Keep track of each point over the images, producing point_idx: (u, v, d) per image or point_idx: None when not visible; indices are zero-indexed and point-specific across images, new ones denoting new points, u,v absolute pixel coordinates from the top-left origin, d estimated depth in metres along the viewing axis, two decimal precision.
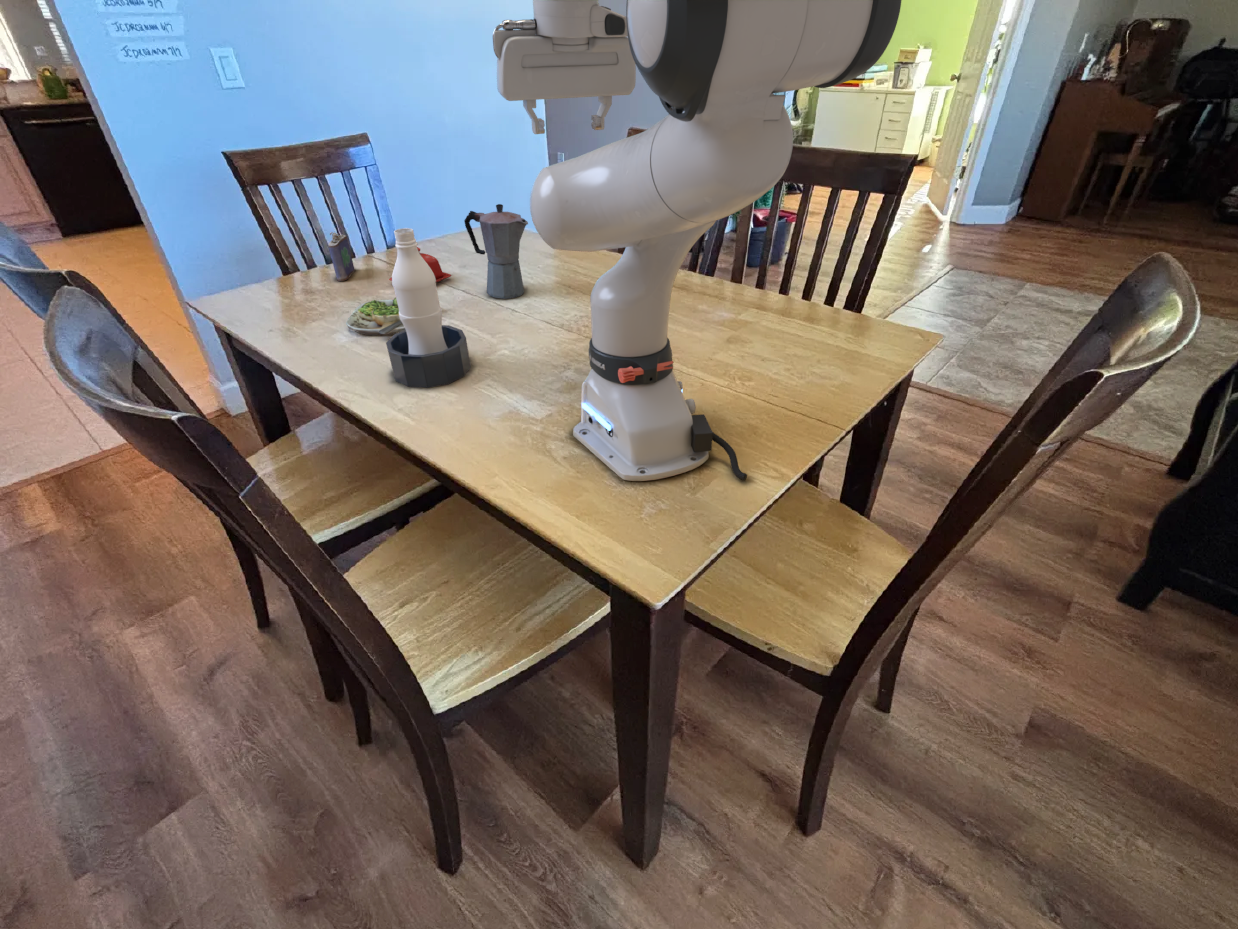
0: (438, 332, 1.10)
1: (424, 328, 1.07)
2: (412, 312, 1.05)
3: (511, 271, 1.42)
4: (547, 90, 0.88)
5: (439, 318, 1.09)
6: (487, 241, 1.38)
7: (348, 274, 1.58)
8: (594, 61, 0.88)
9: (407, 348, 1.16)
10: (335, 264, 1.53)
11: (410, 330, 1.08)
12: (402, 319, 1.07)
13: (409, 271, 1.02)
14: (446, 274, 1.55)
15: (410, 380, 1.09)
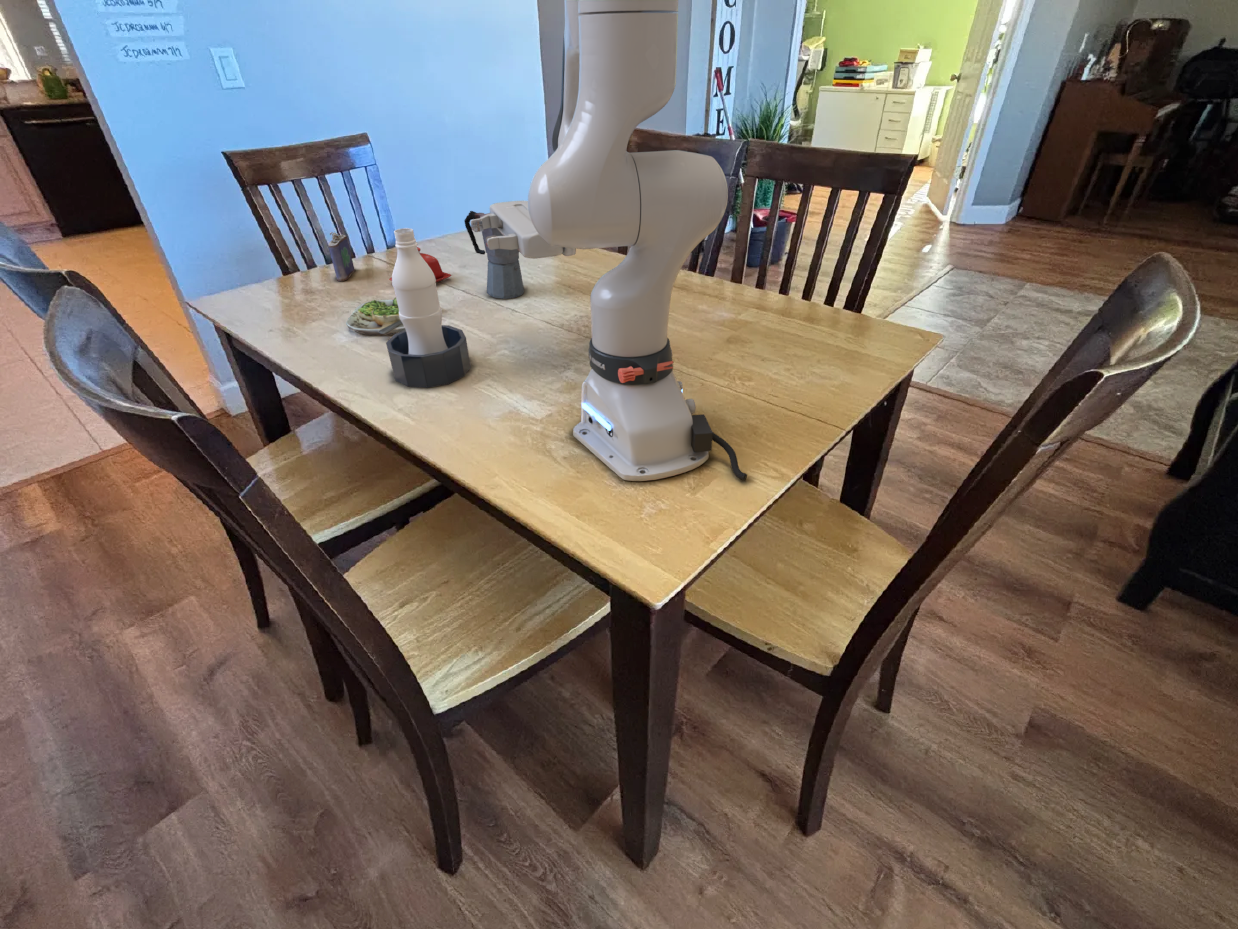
0: (438, 332, 1.10)
1: (424, 328, 1.07)
2: (412, 312, 1.05)
3: (511, 271, 1.42)
4: (504, 212, 1.08)
5: (439, 318, 1.09)
6: None
7: (348, 274, 1.58)
8: None
9: (407, 348, 1.16)
10: (335, 264, 1.53)
11: (410, 330, 1.08)
12: (402, 319, 1.07)
13: (409, 271, 1.02)
14: (446, 274, 1.55)
15: (410, 380, 1.09)
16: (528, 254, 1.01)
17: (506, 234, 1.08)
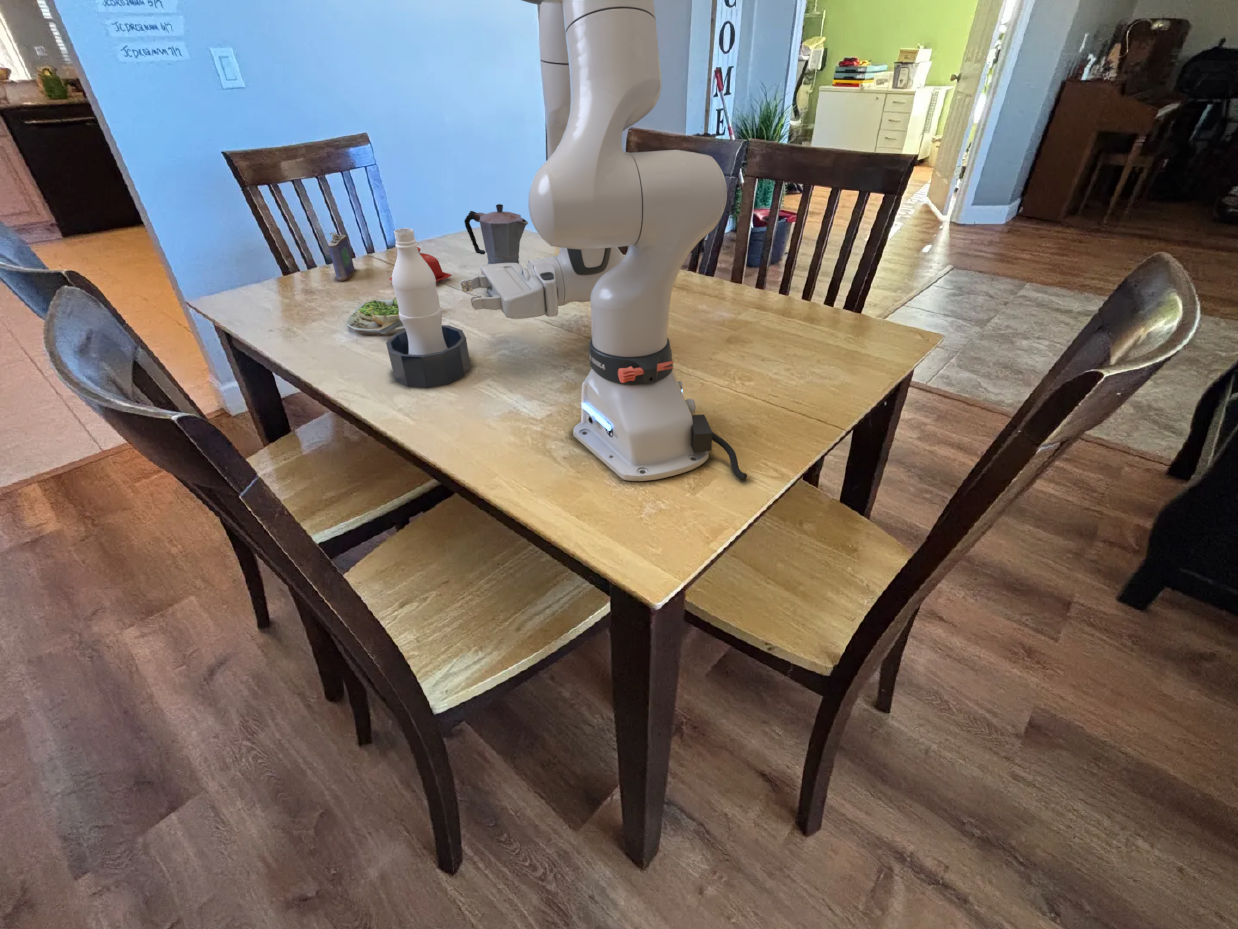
0: (438, 332, 1.10)
1: (424, 328, 1.07)
2: (412, 312, 1.05)
3: None
4: (492, 273, 1.14)
5: (439, 318, 1.09)
6: (487, 241, 1.38)
7: (348, 274, 1.58)
8: (520, 285, 1.10)
9: (407, 348, 1.16)
10: (335, 264, 1.53)
11: (410, 330, 1.08)
12: (402, 319, 1.07)
13: (409, 271, 1.02)
14: (446, 274, 1.55)
15: (410, 380, 1.09)
16: (509, 314, 1.05)
17: (493, 294, 1.13)
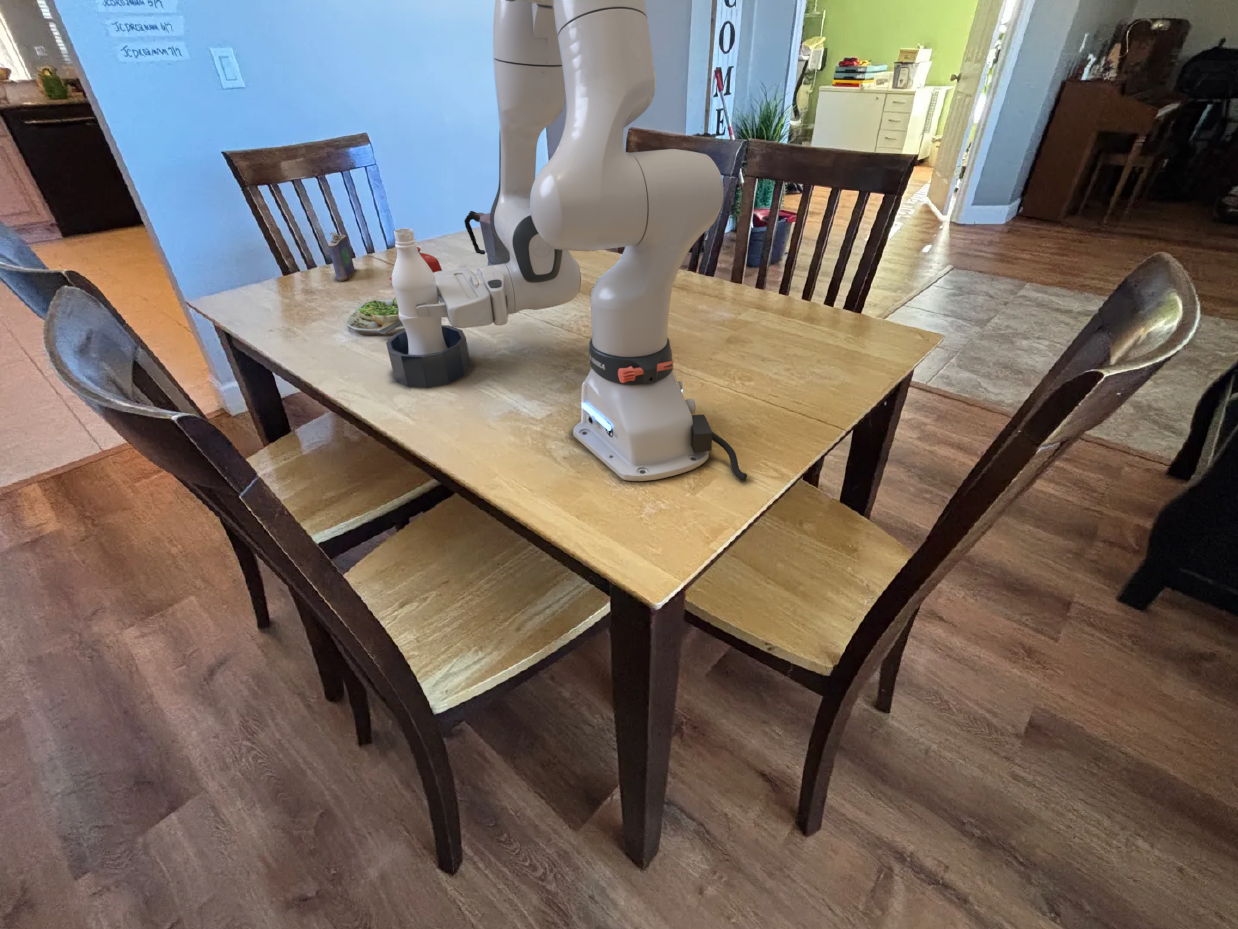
0: (437, 332, 1.10)
1: (423, 328, 1.07)
2: (412, 312, 1.05)
3: None
4: (441, 281, 1.11)
5: (439, 318, 1.09)
6: (487, 241, 1.38)
7: (348, 274, 1.58)
8: (468, 293, 1.07)
9: (407, 348, 1.16)
10: (335, 264, 1.53)
11: (410, 330, 1.08)
12: (402, 319, 1.07)
13: (409, 271, 1.02)
14: None
15: (410, 380, 1.09)
16: (455, 323, 1.02)
17: None
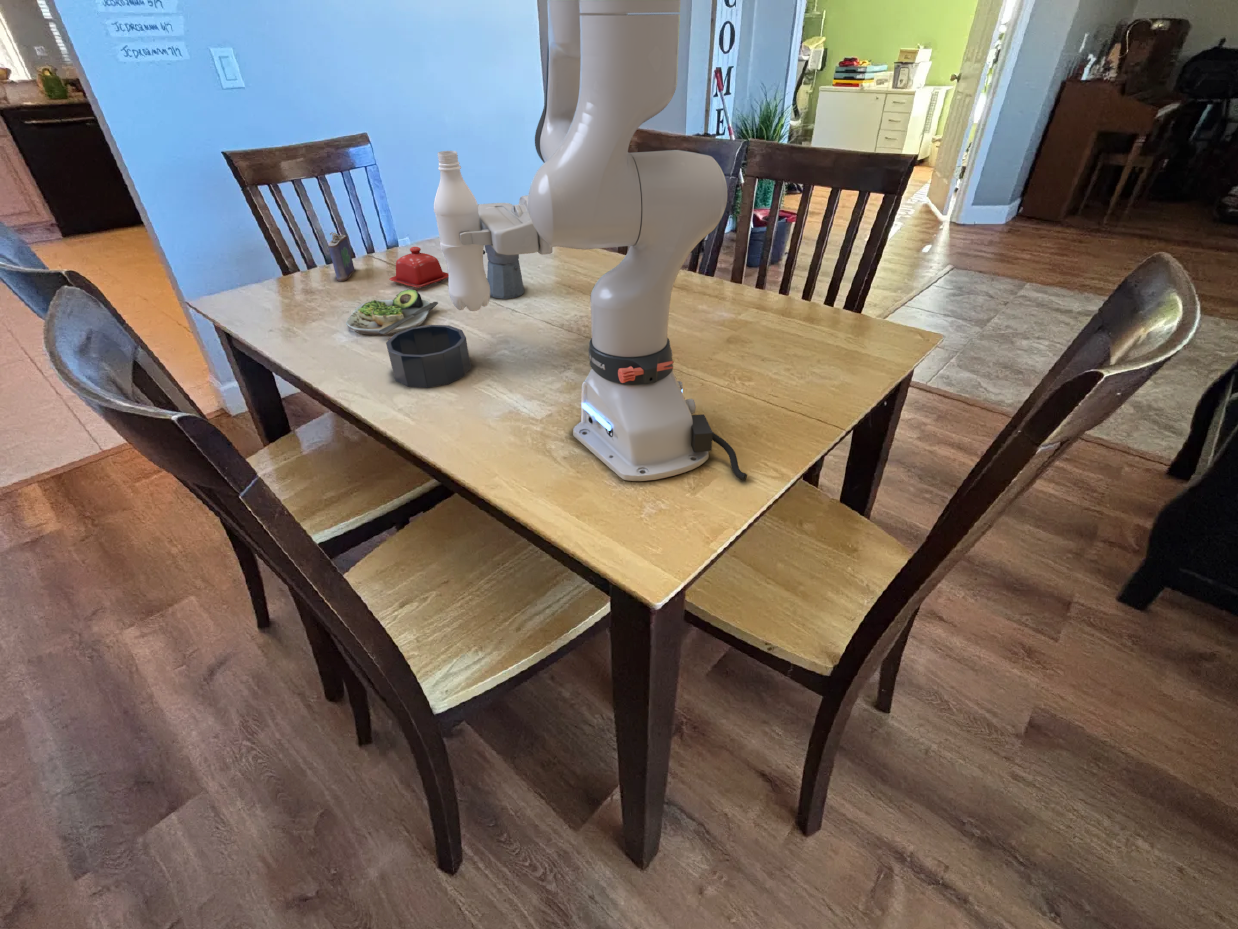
0: (479, 263, 1.06)
1: (466, 258, 1.04)
2: (455, 240, 1.02)
3: (511, 271, 1.42)
4: (482, 211, 1.07)
5: (481, 248, 1.05)
6: None
7: (348, 274, 1.58)
8: (512, 221, 1.03)
9: (407, 348, 1.16)
10: (335, 264, 1.53)
11: (451, 261, 1.05)
12: (444, 248, 1.03)
13: (453, 196, 0.98)
14: (446, 274, 1.55)
15: (410, 380, 1.09)
16: (500, 249, 0.99)
17: None
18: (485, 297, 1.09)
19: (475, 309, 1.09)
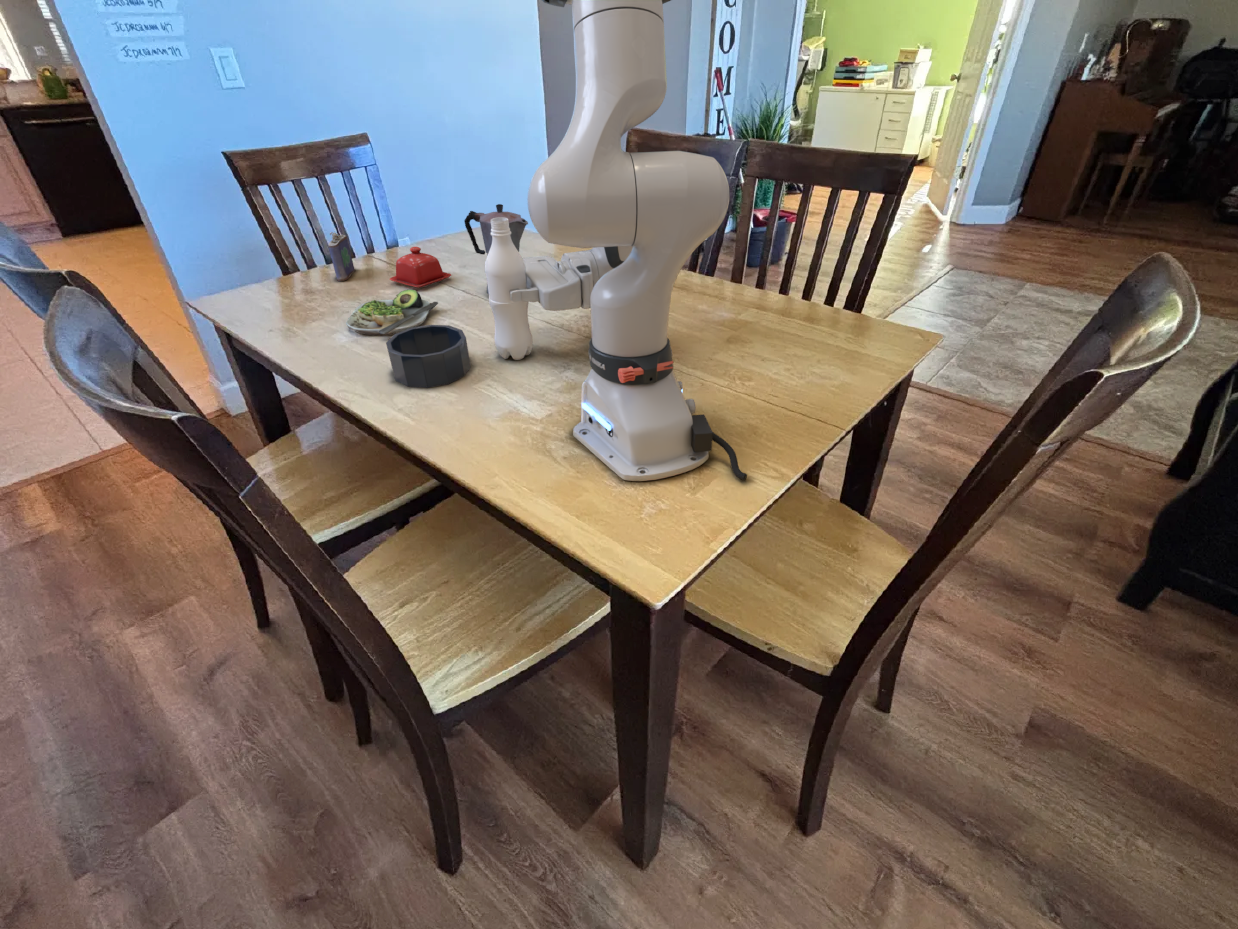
0: (525, 317, 1.15)
1: (513, 313, 1.12)
2: (504, 298, 1.10)
3: None
4: (528, 267, 1.16)
5: (527, 304, 1.14)
6: (487, 241, 1.38)
7: (348, 274, 1.58)
8: (557, 278, 1.11)
9: (407, 348, 1.16)
10: (335, 264, 1.53)
11: (499, 315, 1.13)
12: (493, 305, 1.12)
13: (504, 259, 1.07)
14: (446, 274, 1.55)
15: (410, 380, 1.09)
16: (548, 306, 1.07)
17: (529, 287, 1.15)
18: (528, 347, 1.18)
19: (519, 358, 1.18)
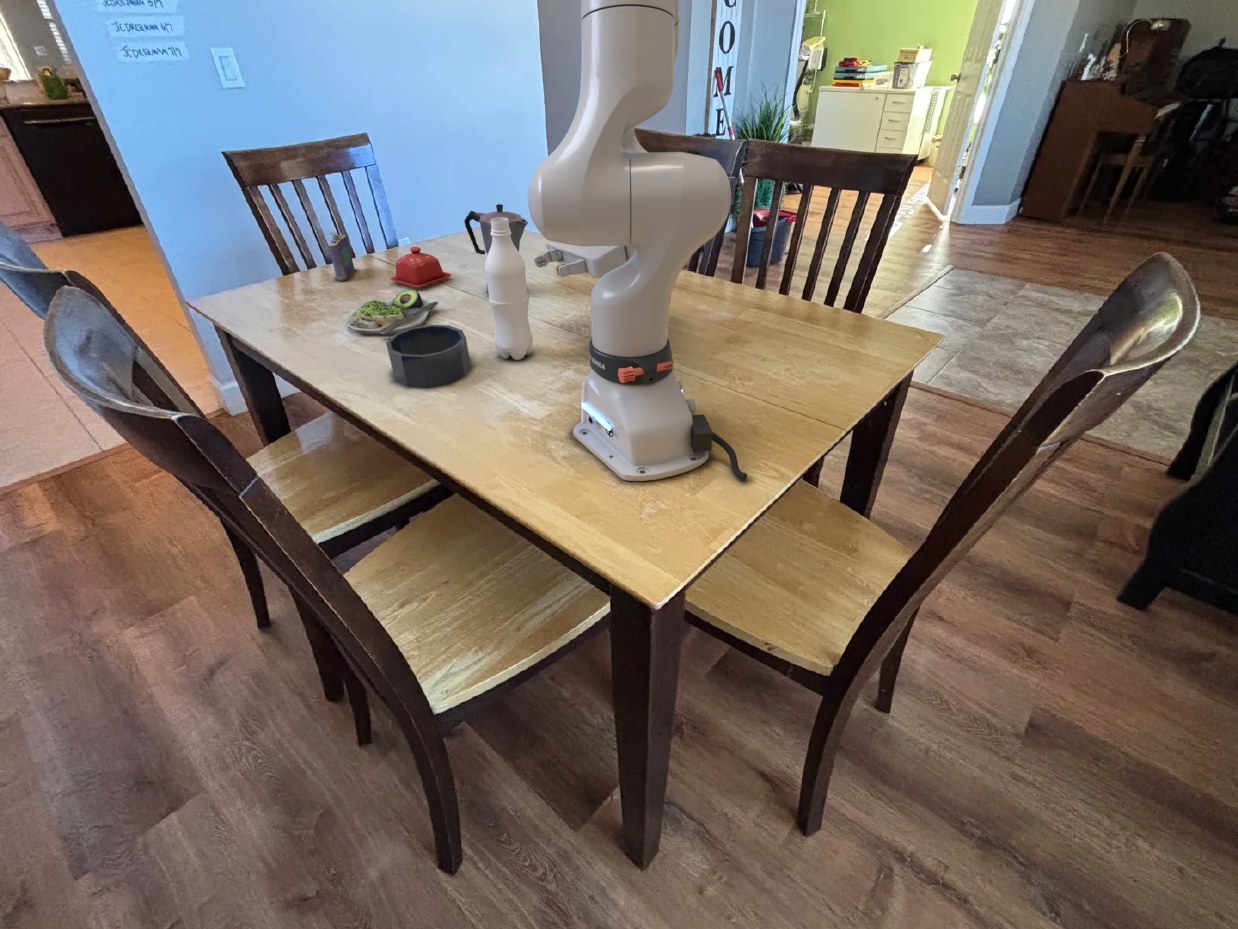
0: (525, 317, 1.15)
1: (513, 313, 1.12)
2: (504, 298, 1.10)
3: None
4: (563, 244, 1.16)
5: (527, 304, 1.14)
6: (487, 241, 1.38)
7: (348, 274, 1.58)
8: (597, 246, 1.12)
9: (407, 348, 1.16)
10: (335, 264, 1.53)
11: (499, 315, 1.13)
12: (493, 305, 1.12)
13: (504, 259, 1.07)
14: (446, 274, 1.55)
15: (410, 380, 1.09)
16: (599, 273, 1.07)
17: (569, 263, 1.16)
18: (528, 347, 1.18)
19: (519, 358, 1.18)
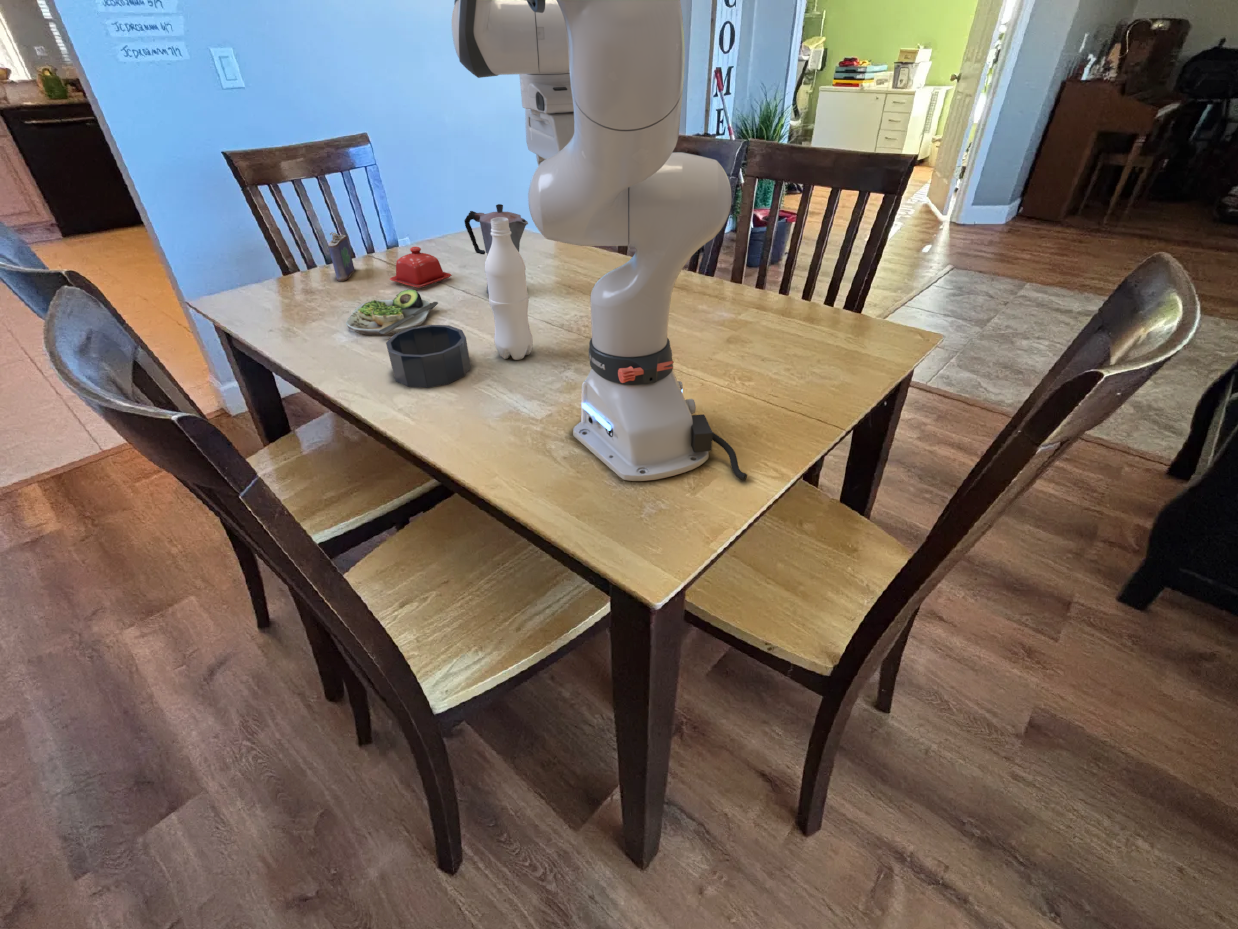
0: (525, 317, 1.15)
1: (513, 313, 1.12)
2: (504, 298, 1.10)
3: None
4: (535, 148, 1.05)
5: (527, 304, 1.14)
6: (487, 241, 1.38)
7: (348, 274, 1.58)
8: (548, 131, 0.98)
9: (407, 348, 1.16)
10: (335, 264, 1.53)
11: (499, 315, 1.13)
12: (493, 305, 1.12)
13: (504, 259, 1.07)
14: (446, 274, 1.55)
15: (410, 380, 1.09)
16: None
17: None
18: (528, 347, 1.18)
19: (519, 358, 1.18)
